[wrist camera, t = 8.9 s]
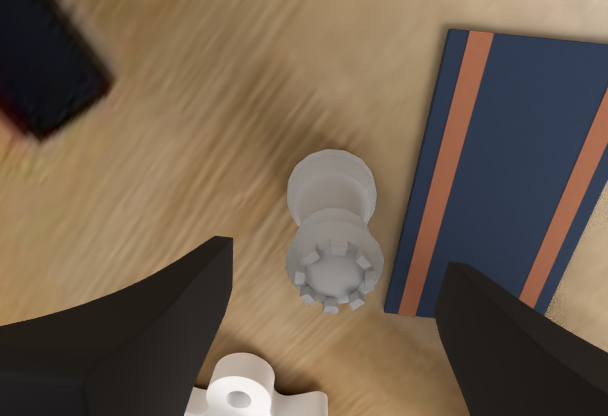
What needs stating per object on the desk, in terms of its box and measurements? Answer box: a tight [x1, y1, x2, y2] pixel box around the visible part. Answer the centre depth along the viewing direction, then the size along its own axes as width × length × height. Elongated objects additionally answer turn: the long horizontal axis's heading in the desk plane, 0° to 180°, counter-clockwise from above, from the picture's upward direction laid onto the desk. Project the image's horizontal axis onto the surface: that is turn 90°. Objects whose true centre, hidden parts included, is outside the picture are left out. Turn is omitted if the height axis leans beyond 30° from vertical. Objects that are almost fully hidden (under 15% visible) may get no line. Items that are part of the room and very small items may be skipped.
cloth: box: [384, 29, 608, 318], centre depth 18 cm, size 15×9×1 cm, turn 175°
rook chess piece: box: [286, 149, 384, 314], centre depth 15 cm, size 4×4×8 cm
